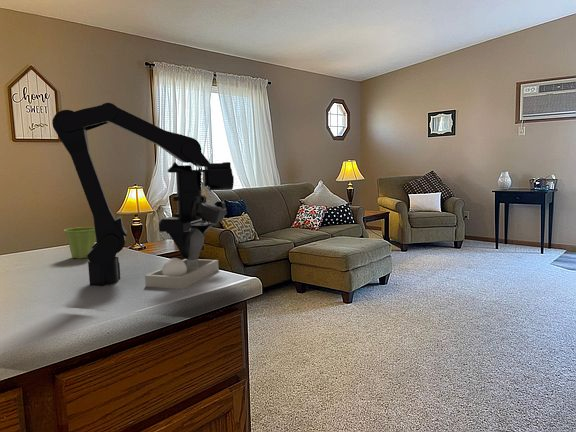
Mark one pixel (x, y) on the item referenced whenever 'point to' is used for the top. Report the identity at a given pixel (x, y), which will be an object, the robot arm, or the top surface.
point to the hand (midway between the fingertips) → (192, 256)
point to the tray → (182, 281)
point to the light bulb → (195, 247)
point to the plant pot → (80, 241)
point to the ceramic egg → (174, 267)
